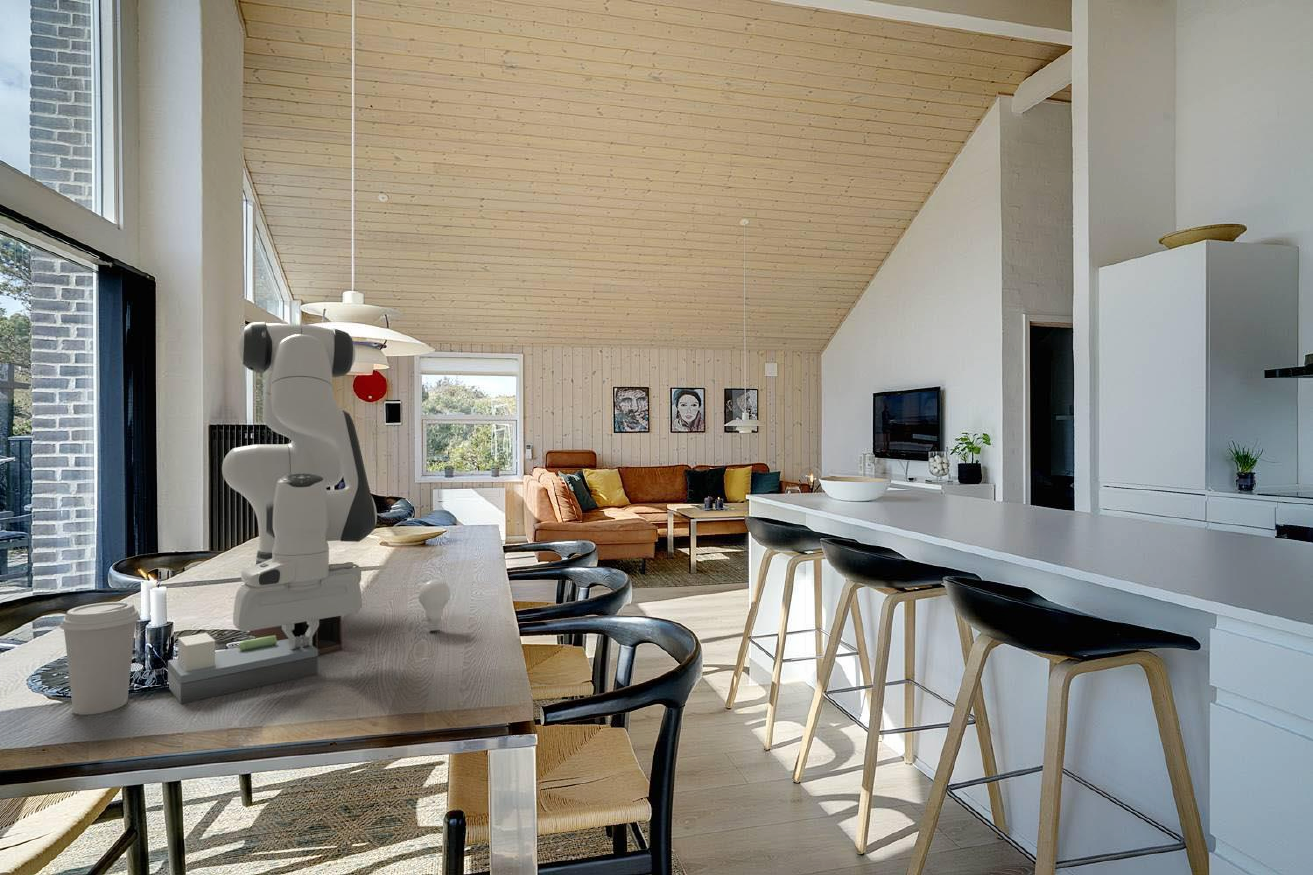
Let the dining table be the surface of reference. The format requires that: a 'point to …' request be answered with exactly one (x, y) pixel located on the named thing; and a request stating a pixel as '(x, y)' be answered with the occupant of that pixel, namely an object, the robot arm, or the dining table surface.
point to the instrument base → (241, 680)
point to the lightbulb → (434, 601)
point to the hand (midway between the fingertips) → (300, 647)
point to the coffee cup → (99, 655)
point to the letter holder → (323, 638)
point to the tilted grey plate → (231, 656)
